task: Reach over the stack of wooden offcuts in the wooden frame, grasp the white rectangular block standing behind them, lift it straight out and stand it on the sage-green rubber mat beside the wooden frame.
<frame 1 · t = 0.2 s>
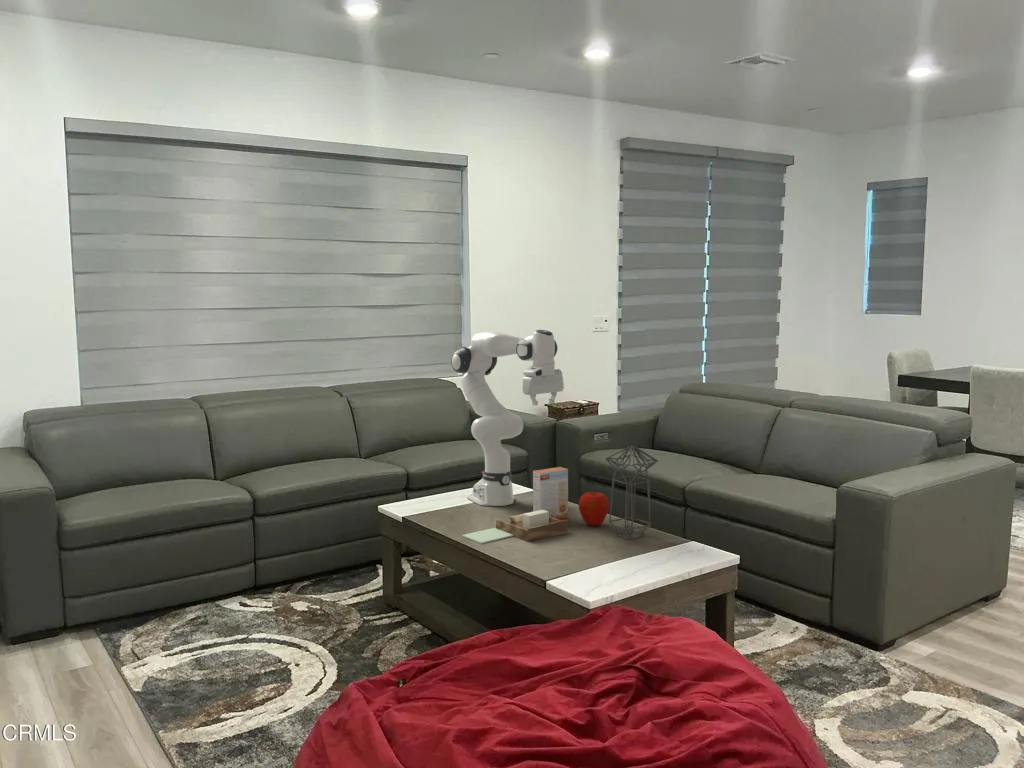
hand: (543, 404, 350), 47 cm above the table, fingers open, 8 cm apart
white rectangular block: (535, 532, 334), resting in wooden frame
offcut stack: (521, 528, 341), resting in wooden frame
geometric lantern: (630, 535, 331), on the table
wooden frame: (531, 531, 336), on the table
apple: (593, 525, 345), on the table
cracker box: (550, 519, 353), on the table
mat: (488, 536, 329), on the table
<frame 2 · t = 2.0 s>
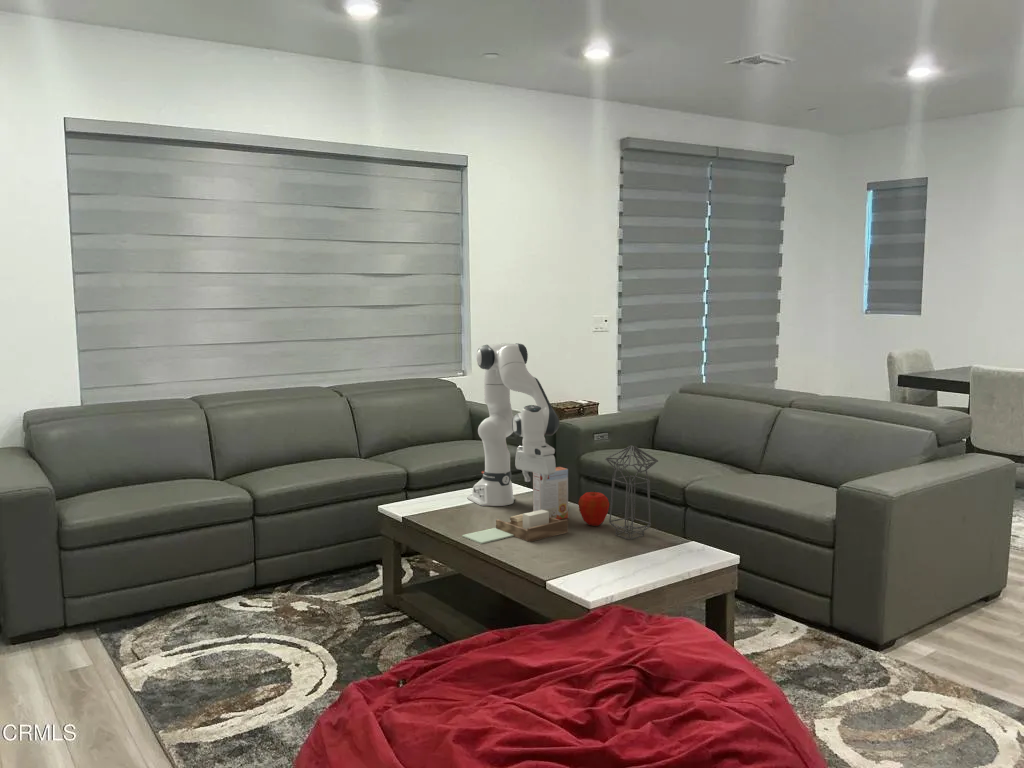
hand: (535, 483, 332), 20 cm above the table, fingers open, 8 cm apart
nothing on the table moved.
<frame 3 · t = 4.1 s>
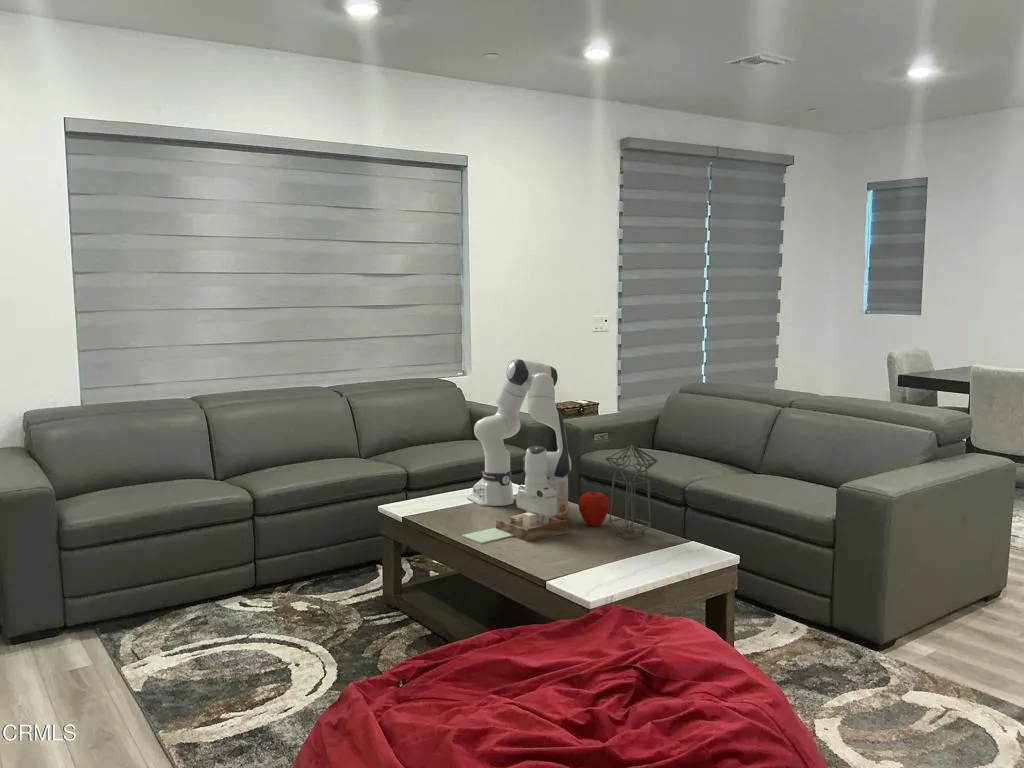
hand: (535, 523, 334), 4 cm above the table, fingers closed on white rectangular block, 4 cm apart
white rectangular block: (535, 532, 334), resting in wooden frame, touching gripper
everything else where it was.
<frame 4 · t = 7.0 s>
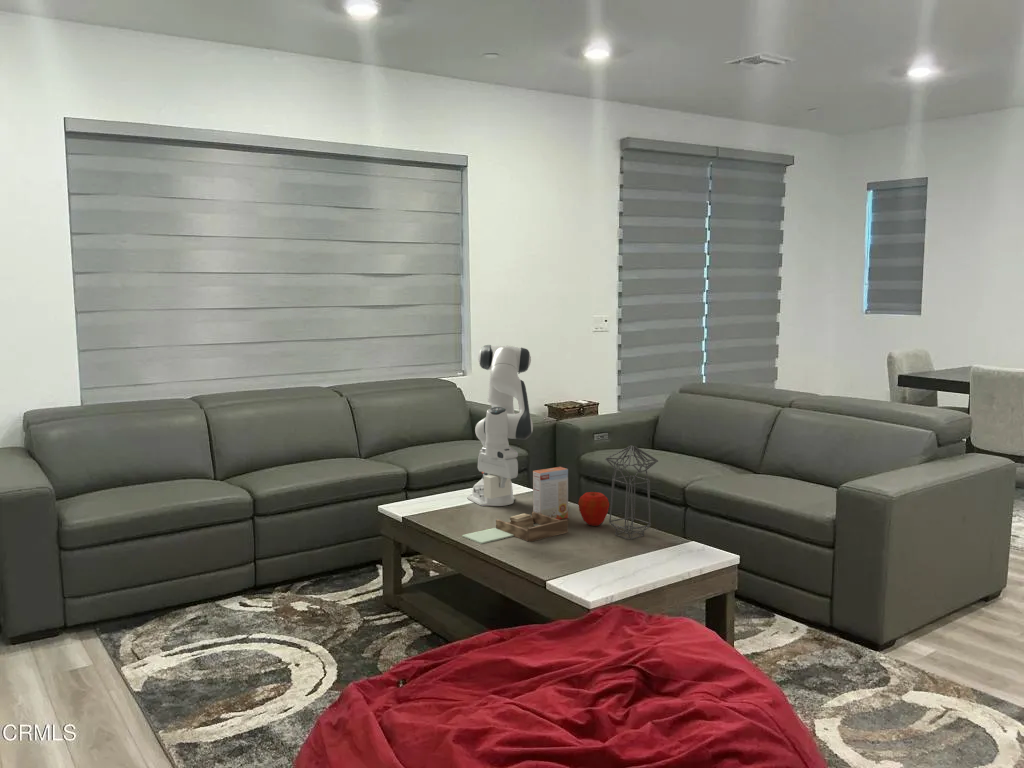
hand: (497, 486, 327), 19 cm above the table, fingers closed on white rectangular block, 4 cm apart
white rectangular block: (497, 495, 328), point 16 cm above the table, touching gripper
everything else where it was.
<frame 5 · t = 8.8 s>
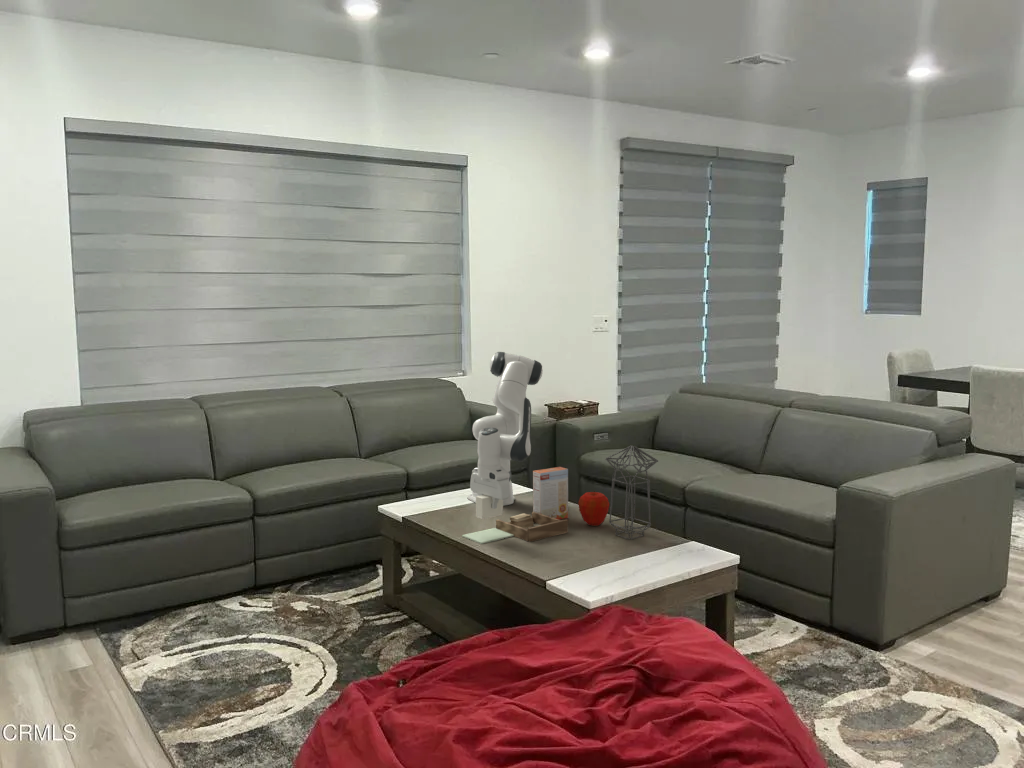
hand: (489, 506, 328), 12 cm above the table, fingers closed on white rectangular block, 4 cm apart
white rectangular block: (489, 516, 328), point 8 cm above the table, touching gripper
everything else where it was.
when the fingers open (5 cm above the table, at t = 10.3 s): white rectangular block stays where it is, resting on mat.
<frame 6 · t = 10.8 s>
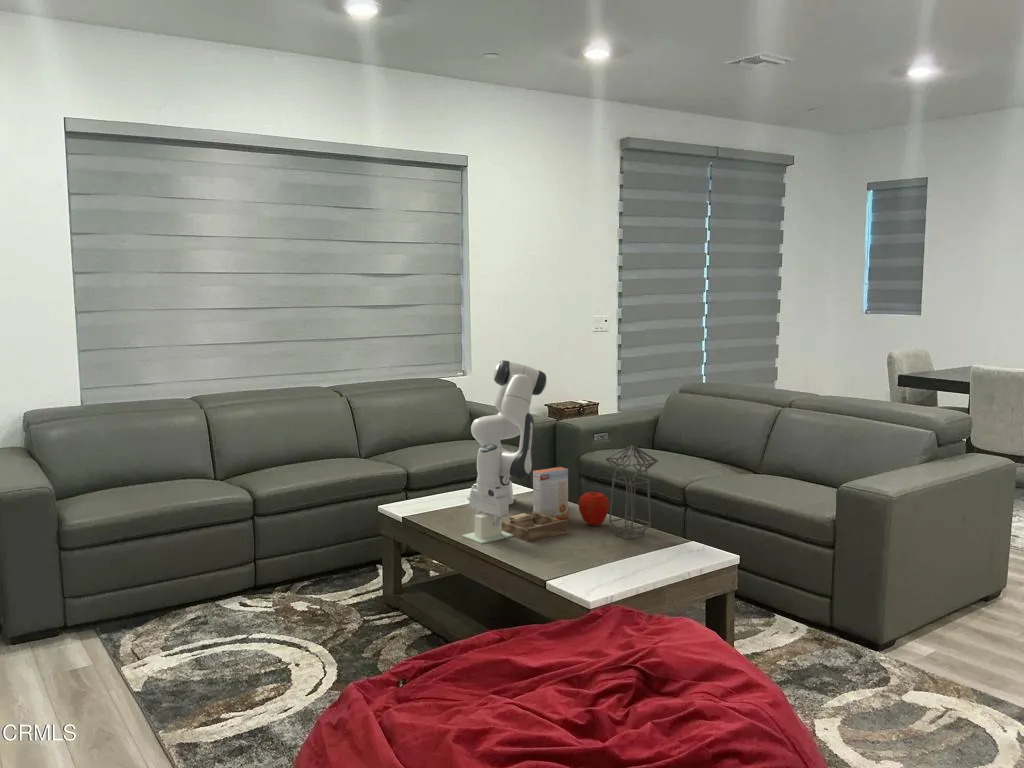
hand: (488, 523, 328), 5 cm above the table, fingers open, 8 cm apart
white rectangular block: (488, 534, 329), point 1 cm above the table, touching mat
everything else where it was.
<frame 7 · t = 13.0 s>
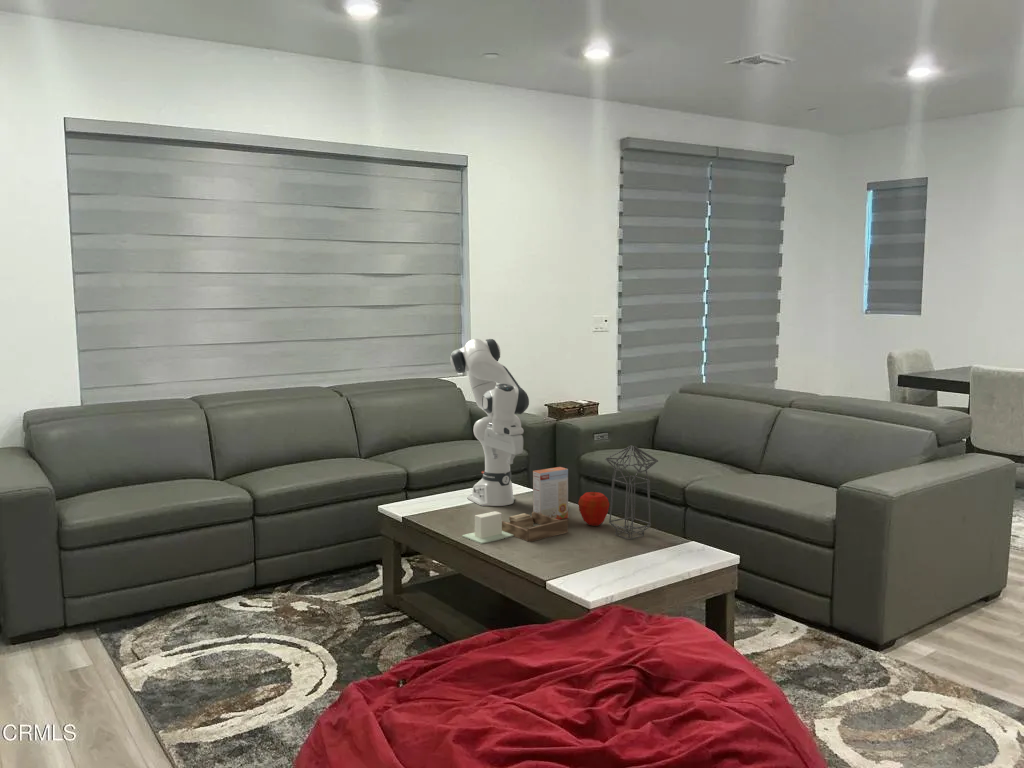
hand: (502, 461, 335), 27 cm above the table, fingers open, 8 cm apart
nothing on the table moved.
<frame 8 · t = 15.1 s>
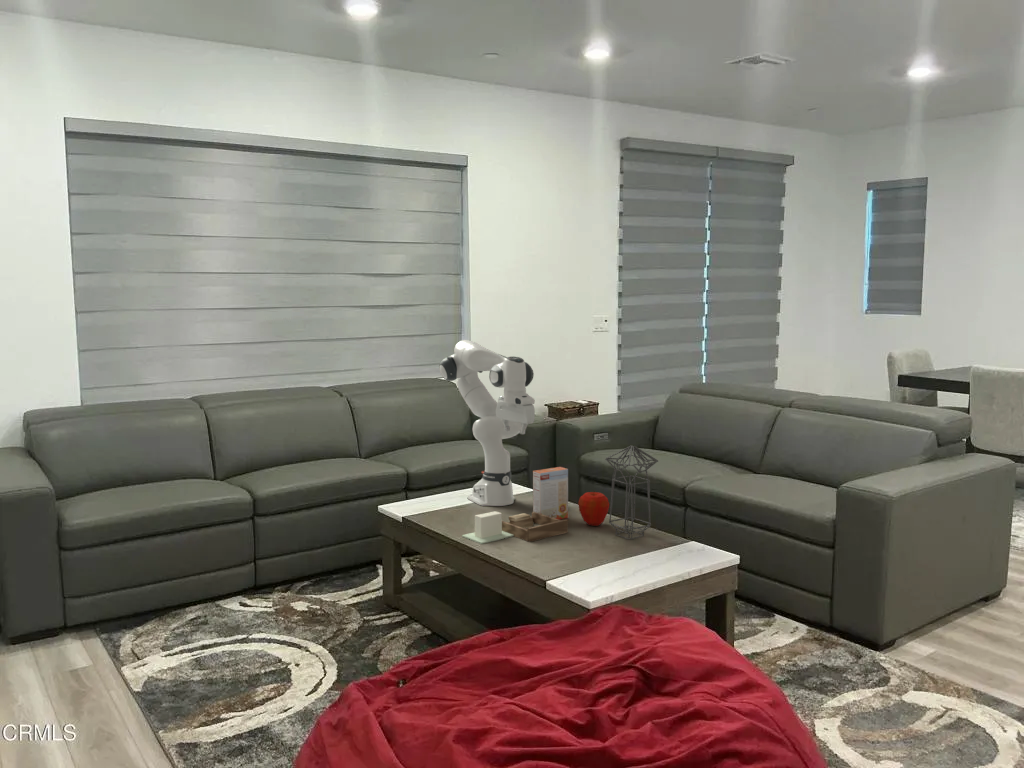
hand: (514, 432, 343), 37 cm above the table, fingers open, 8 cm apart
nothing on the table moved.
at the end: white rectangular block inside the target area on the mat (0.1 cm from its centre), point 0.6 cm above the mat's base; white rectangular block tilted 0°; the gripper is holding nothing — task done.
